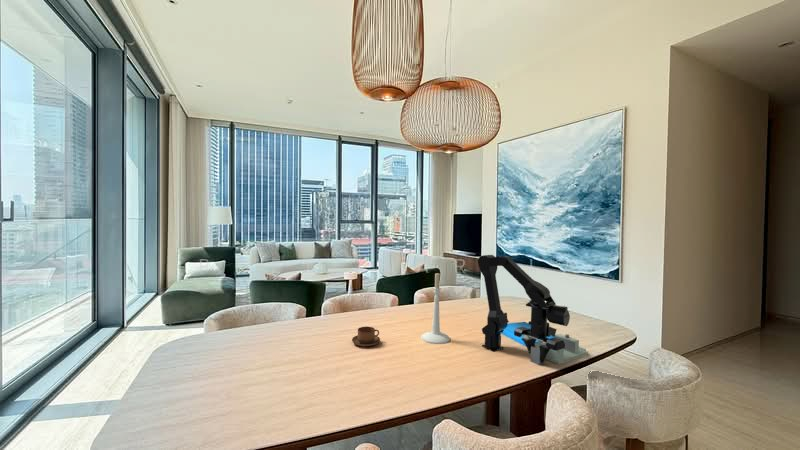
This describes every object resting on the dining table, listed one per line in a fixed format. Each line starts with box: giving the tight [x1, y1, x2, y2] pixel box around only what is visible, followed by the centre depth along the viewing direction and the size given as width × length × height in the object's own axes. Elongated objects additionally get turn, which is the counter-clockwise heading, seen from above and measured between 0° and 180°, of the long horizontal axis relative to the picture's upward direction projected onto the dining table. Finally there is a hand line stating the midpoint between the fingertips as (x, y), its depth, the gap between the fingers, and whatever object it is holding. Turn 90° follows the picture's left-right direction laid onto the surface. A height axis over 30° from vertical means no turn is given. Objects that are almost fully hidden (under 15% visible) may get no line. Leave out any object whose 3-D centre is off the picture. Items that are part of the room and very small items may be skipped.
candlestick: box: [420, 272, 451, 345], centre depth 152 cm, size 13×13×30 cm
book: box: [501, 321, 556, 347], centre depth 156 cm, size 17×4×25 cm
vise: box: [539, 341, 589, 365], centre depth 138 cm, size 20×11×6 cm, turn 122°
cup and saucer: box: [351, 326, 381, 347], centre depth 145 cm, size 12×12×6 cm
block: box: [529, 345, 546, 366], centre depth 130 cm, size 3×4×6 cm
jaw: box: [555, 333, 580, 353], centre depth 140 cm, size 3×9×6 cm, turn 32°
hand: (537, 359), depth 130 cm, fingers closed on block, 4 cm apart
